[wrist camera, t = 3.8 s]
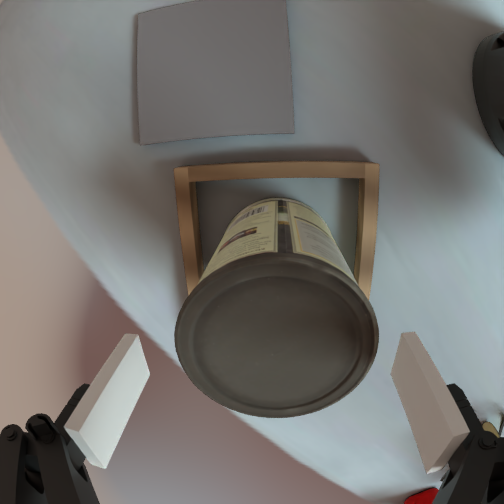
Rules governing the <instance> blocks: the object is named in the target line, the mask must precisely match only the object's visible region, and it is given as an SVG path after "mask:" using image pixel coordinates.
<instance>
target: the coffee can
mask: <svg viewBox="0 0 504 504" xmlns="http://www.w3.org/2000/svg"><path fill="white" fill-rule="evenodd" d="M174 336H175V348H176V352H177V355H178V358H179V361H180V363H181V365H182V367H183V369H184V371H185V373H186V374H187V375H188V377H189V379H190V380H191V381H192V382H193V384H194V385H195V386H196V387H197V388H198V389H200V390H201V391H202V392H203V393H204V394H205V395H207V396H208V397H209V398H211V399H212V400H214V401H215V402H217V403H219V404H221V405H223V406H225V407H227V408H229V409H232V410H235V411H237V412H240V413H243V414H247V415H252V416H257V417H266V418H287V417H295V416H301V415H305V414H309V413H313V412H316V411H319V410H322V409H324V408H326V407H328V406H330V405H332V404H334V403H336V402H338V401H339V400H341V399H342V398H344V397H345V396H346V395H348V394H349V393H350V392H352V391H353V390H354V389H355V388H356V387H357V386H358V385H359V384H360V382H361V381H362V380H363V379H364V377H365V376H366V374H367V373H368V371H369V370H370V368H371V366H372V364H373V362H374V359H375V356H376V353H377V349H378V342H379V328H378V324H377V319H376V316H375V313H374V310H373V308H372V306H371V304H370V302H369V300H368V299H367V297H366V295H365V294H364V293H363V291H362V290H361V289H360V288H359V286H358V284H357V282H356V280H355V278H354V276H353V274H352V272H351V270H350V269H349V267H348V265H347V263H346V261H345V259H344V257H343V255H342V253H341V251H340V250H339V248H338V246H337V244H336V242H335V240H334V239H333V237H332V234H331V232H330V229H329V227H328V226H327V224H326V222H325V221H324V220H323V219H322V217H321V216H320V215H319V214H318V213H317V212H315V211H314V210H313V209H312V208H311V207H309V206H307V205H305V204H303V203H301V202H298V201H295V200H292V199H286V198H270V199H264V200H261V201H258V202H255V203H253V204H251V205H249V206H247V207H246V208H244V209H243V210H242V211H240V212H239V213H238V214H237V215H236V216H235V217H234V218H233V220H232V221H231V222H230V224H229V225H228V227H227V229H226V231H225V234H224V236H223V238H222V240H221V242H220V243H219V245H218V247H217V249H216V251H215V253H214V255H213V256H212V258H211V260H210V262H209V263H208V265H207V267H206V269H205V270H204V273H203V274H202V276H201V278H200V280H199V282H198V284H197V286H196V287H195V288H194V289H193V290H192V292H191V293H190V294H189V296H188V297H187V299H186V301H185V302H184V304H183V306H182V308H181V310H180V313H179V315H178V318H177V322H176V326H175V333H174Z"/></svg>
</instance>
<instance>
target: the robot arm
mask: <svg viewBox="0 0 504 504" xmlns="http://www.w3.org/2000/svg"><path fill="white" fill-rule="evenodd" d="M473 84H474V91H475V97H476V101H477V105H478V109H479V112H480V115H481V118H482V120H483V123H484V125H485V128H486V130H487V132H488V134H489V136H490V138H491V139H492V141H493V142H494V144H495V145H496V147H497V148H498V150H499V151H500V152H501V153H502V154H503V155H504V32H500V33H497V34H494V35H491V36H489V37H487V38H486V39H484V40H483V41H482V42H481V44H480V45H479V47H478V49H477V51H476V54H475V58H474V63H473ZM149 375H150V372H149V370H148V366H147V363H146V360H145V357H144V354H143V350H142V346H141V343H140V340H139V336H138V335H136V334H125V335H124V336H123V338H122V339H121V340H120V342H119V343H118V345H117V346H116V348H115V349H114V351H113V352H112V353H111V355H110V356H109V358H108V359H107V361H106V362H105V364H104V365H103V367H102V368H101V370H100V371H99V373H98V374H97V376H96V377H95V379H94V380H93V382H92V383H91V385H89V384H83V385H82V386H81V387H79V388H78V389H77V390H76V391H75V392H74V394H73V396H72V397H71V399H70V400H69V401H68V403H67V405H66V406H65V407H64V409H63V410H62V412H61V414H60V415H59V417H58V418H57V420H56V421H55V423H53V421H52V420H51V418H50V417H49V416H48V415H46V414H42V413H41V414H36V415H33V416H32V417H31V418H29V419H28V421H27V423H26V427H25V428H26V429H27V431H28V432H29V433H27V432H23V431H22V429H21V428H20V427H19V426H18V425H15V424H12V425H8V426H6V427H5V428H4V429H3V430H2V432H1V434H0V504H100V503H99V501H98V498H97V496H96V493H95V491H94V488H93V486H92V483H91V480H90V478H89V475H88V472H87V469H86V467H85V465H84V463H83V462H84V460H85V458H87V459H88V461H89V462H90V463H91V464H92V465H95V466H98V467H101V468H104V469H106V467H107V465H108V463H109V461H110V458H111V456H112V454H113V452H114V449H115V447H116V445H117V443H118V441H119V439H120V436H121V434H122V432H123V430H124V428H125V426H126V423H127V421H128V419H129V417H130V415H131V413H132V411H133V409H134V407H135V405H136V402H137V400H138V398H139V396H140V394H141V392H142V390H143V388H144V386H145V384H146V382H147V380H148V378H149ZM391 376H392V379H393V381H394V384H395V386H396V389H397V391H398V394H399V397H400V399H401V402H402V404H403V407H404V410H405V412H406V415H407V418H408V421H409V423H410V426H411V429H412V432H413V435H414V437H415V440H416V443H417V446H418V449H419V452H420V455H421V458H422V461H423V464H424V468H425V471H426V474H428V473H432V472H435V471H439V470H442V469H443V468H444V466H445V465H446V464H447V463H448V464H449V467H450V469H449V470H448V471H447V473H446V474H445V475H444V476H443V477H442V479H441V480H440V481H443V483H442V485H441V487H440V489H439V491H438V493H437V495H436V497H435V499H434V500H433V502H432V504H504V437H501V438H498V437H497V436H496V435H495V434H494V433H492V432H490V431H485V430H484V429H483V427H482V425H481V423H480V421H479V419H478V418H477V416H476V414H475V412H474V410H473V408H472V406H470V403H469V401H468V400H467V397H466V396H465V394H464V392H463V390H462V389H460V388H459V387H458V386H457V385H456V384H455V383H454V384H449V385H446V384H445V382H444V380H443V379H442V377H441V375H440V373H439V371H438V370H437V368H436V366H435V364H434V363H433V361H432V359H431V358H430V356H429V354H428V352H427V351H426V349H425V347H424V346H423V344H422V342H421V341H420V339H419V337H418V336H417V334H416V333H415V332H407V333H402V334H401V338H400V342H399V346H398V349H397V353H396V357H395V360H394V364H393V367H392V371H391Z"/></svg>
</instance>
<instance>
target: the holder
mask: <svg viewBox="0 0 504 504" xmlns="http://www.w3.org/2000/svg"><path fill="white" fill-rule="evenodd" d="M256 178H359V195H358V221H357V239H356V253H355V266H354V278H355V280H356V282H357V284H358V286H359V288H360V289H361V290H362V291H363V293H364V294H365V295H366V297H367V299H368V300H369V296H370V289H371V281H372V273H373V264H374V254H375V243H376V230H377V216H378V196H379V164H377V163H373V162H356V161H260V162H236V163H218V164H204V165H191V166H181V167H177V168H174V180H175V190H176V201H177V211H178V220H179V229H180V237H181V245H182V253H183V261H184V268H185V275H186V282H187V289H188V296H189V294H190V293H191V292H192V290H193V289H194V288H195V287H196V286H197V284H198V282H199V280H200V278H201V276H202V274H203V273H204V265H203V256H202V247H201V237H200V227H199V217H198V206H197V194H196V181H212V180H231V179H256Z"/></svg>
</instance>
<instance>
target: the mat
mask: <svg viewBox="0 0 504 504" xmlns="http://www.w3.org/2000/svg"><path fill="white" fill-rule="evenodd" d="M137 93H138V118H139V135H140V145H148V144H155V143H162V142H170V141H179V140H188V139H198V138H209V137H222V136H237V135H256V134H294V112H293V92H292V75H291V59H290V45H289V32H288V20H287V9H286V0H199V1H193V2H188V3H182V4H177V5H173V6H168V7H164V8H159V9H155V10H151V11H147V12H144V13H140V14H138V34H137Z"/></svg>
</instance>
